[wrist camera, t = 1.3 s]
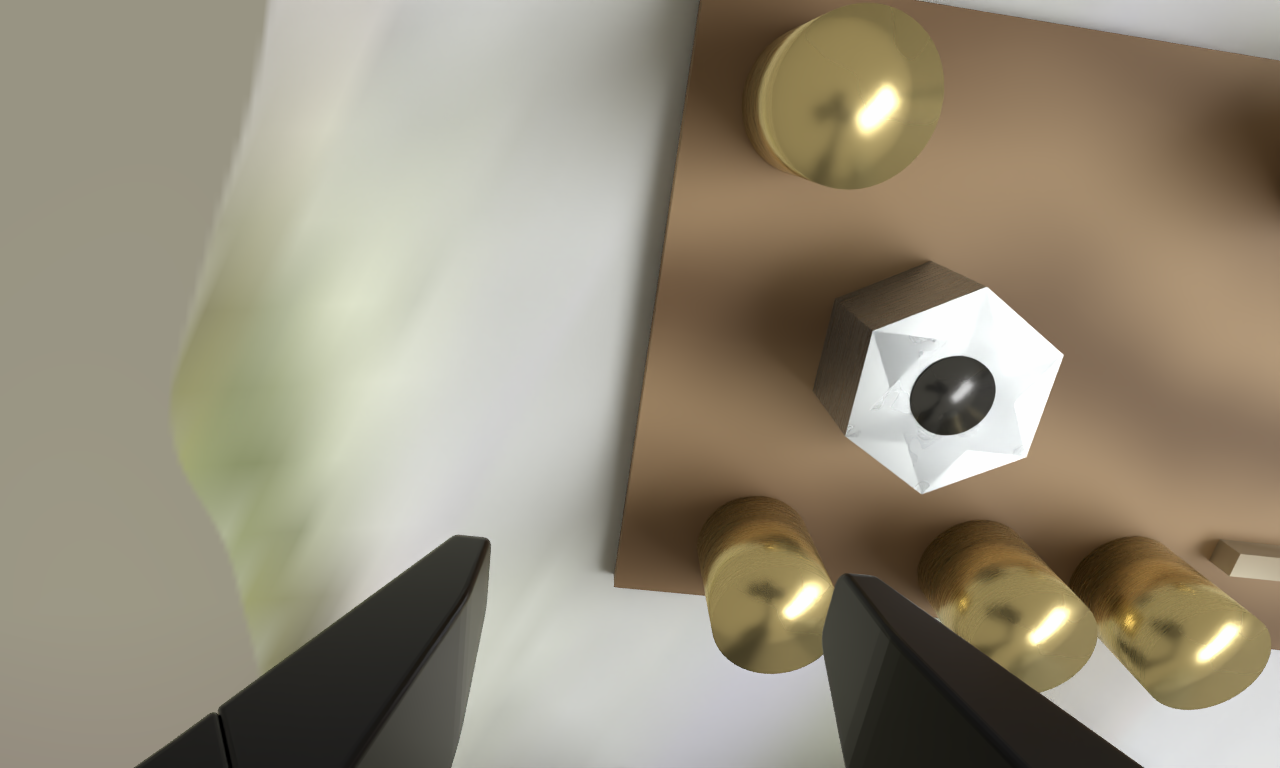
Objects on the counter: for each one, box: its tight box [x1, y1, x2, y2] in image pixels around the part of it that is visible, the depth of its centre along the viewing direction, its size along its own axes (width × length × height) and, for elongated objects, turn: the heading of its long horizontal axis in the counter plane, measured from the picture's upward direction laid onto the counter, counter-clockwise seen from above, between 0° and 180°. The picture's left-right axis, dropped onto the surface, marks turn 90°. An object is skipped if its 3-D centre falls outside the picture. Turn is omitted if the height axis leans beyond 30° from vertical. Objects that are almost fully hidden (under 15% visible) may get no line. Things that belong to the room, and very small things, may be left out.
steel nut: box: [813, 261, 1063, 494], centre depth 18 cm, size 5×5×3 cm
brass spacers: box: [697, 3, 1271, 710], centre depth 18 cm, size 16×17×4 cm
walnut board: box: [614, 0, 1280, 650], centre depth 20 cm, size 17×24×1 cm
